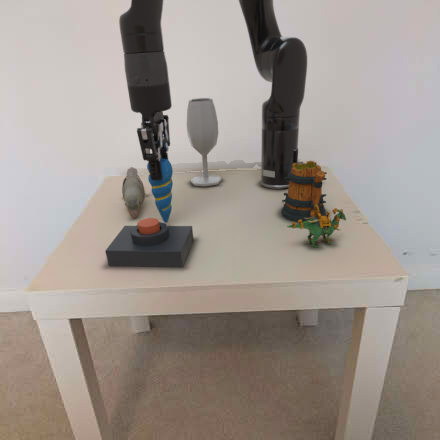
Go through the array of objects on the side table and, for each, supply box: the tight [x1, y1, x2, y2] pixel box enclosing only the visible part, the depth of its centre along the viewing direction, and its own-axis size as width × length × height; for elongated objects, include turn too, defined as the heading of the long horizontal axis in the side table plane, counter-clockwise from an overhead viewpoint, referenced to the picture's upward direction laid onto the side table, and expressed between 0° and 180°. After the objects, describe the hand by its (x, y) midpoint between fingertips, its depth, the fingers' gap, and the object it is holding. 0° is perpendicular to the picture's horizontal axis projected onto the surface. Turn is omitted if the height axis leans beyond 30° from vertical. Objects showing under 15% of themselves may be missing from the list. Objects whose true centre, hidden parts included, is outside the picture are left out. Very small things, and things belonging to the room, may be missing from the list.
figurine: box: [286, 204, 347, 248], centre depth 74 cm, size 3×12×8 cm, turn 105°
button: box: [136, 217, 160, 234], centre depth 74 cm, size 4×4×2 cm
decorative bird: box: [121, 166, 146, 219], centre depth 96 cm, size 5×16×8 cm, turn 9°
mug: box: [281, 160, 328, 223], centre depth 85 cm, size 13×10×12 cm
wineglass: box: [186, 97, 222, 187], centre depth 105 cm, size 9×9×21 cm
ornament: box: [146, 155, 174, 224], centre depth 82 cm, size 5×5×15 cm
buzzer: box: [104, 221, 194, 268], centre depth 76 cm, size 14×11×5 cm
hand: (160, 174), depth 81 cm, fingers closed on ornament, 5 cm apart
